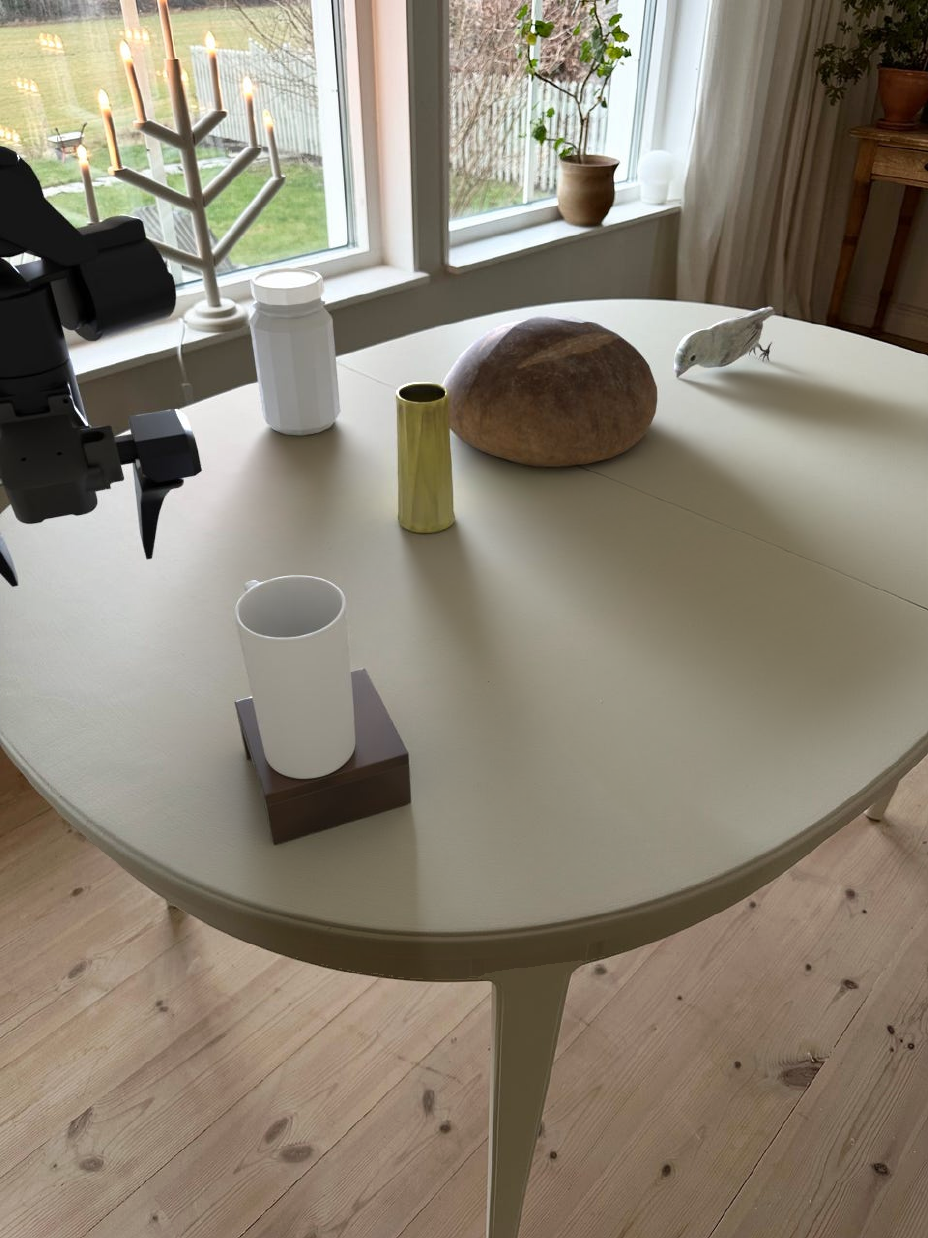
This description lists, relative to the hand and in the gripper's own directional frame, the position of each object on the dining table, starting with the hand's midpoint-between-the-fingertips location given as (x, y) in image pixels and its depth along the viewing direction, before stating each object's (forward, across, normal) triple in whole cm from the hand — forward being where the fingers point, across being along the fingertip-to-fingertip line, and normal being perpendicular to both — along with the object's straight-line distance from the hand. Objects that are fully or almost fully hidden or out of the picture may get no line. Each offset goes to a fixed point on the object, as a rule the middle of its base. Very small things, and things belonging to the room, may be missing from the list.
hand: (83, 569), depth 67 cm
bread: (+13, +55, +34) cm, 66 cm away
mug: (+8, +11, -14) cm, 20 cm away
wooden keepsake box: (+13, +13, -14) cm, 23 cm away
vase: (+13, +33, +18) cm, 40 cm away
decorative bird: (+13, +87, +42) cm, 97 cm away
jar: (+13, +27, +47) cm, 56 cm away
